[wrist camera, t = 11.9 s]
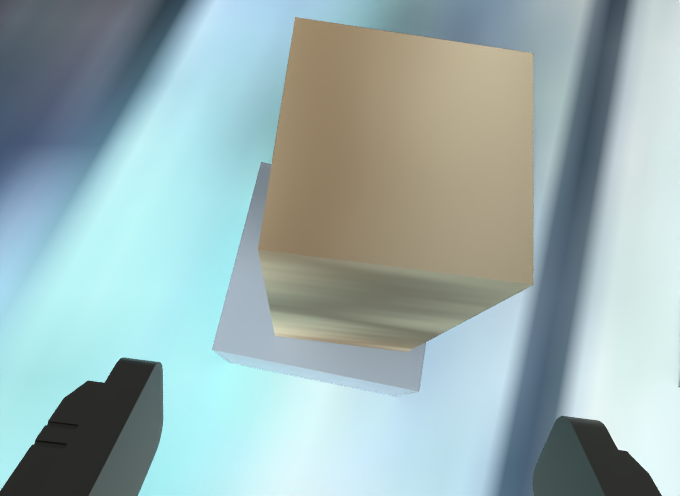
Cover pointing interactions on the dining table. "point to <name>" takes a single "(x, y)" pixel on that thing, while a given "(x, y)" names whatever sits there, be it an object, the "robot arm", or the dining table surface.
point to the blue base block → (289, 353)
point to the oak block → (396, 186)
